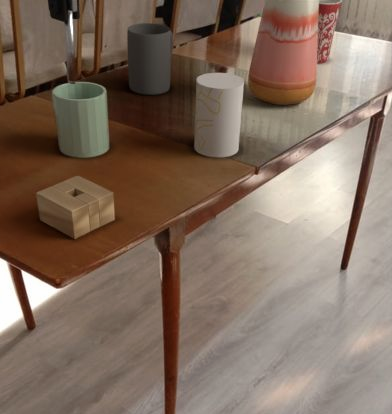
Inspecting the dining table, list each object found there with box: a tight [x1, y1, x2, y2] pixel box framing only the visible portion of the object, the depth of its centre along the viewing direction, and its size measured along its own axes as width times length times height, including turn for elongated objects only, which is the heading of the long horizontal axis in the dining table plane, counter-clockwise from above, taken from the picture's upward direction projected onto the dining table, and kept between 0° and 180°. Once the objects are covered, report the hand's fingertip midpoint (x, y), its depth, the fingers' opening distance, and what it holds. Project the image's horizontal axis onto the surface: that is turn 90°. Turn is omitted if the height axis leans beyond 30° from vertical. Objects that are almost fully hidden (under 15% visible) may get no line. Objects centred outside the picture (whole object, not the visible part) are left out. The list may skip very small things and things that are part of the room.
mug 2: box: [317, 0, 343, 64], centre depth 154 cm, size 13×9×14 cm
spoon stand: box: [35, 175, 116, 240], centre depth 92 cm, size 8×8×4 cm
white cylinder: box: [193, 72, 245, 158], centre depth 111 cm, size 8×8×12 cm
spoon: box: [63, 0, 77, 84], centre depth 85 cm, size 1×3×14 cm, turn 49°
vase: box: [247, 0, 319, 106], centre depth 126 cm, size 14×14×30 cm
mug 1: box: [126, 22, 174, 96], centre depth 135 cm, size 14×9×12 cm
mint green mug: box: [51, 81, 110, 159], centre depth 111 cm, size 12×9×10 cm
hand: (65, 17), depth 84 cm, fingers closed on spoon, 1 cm apart
